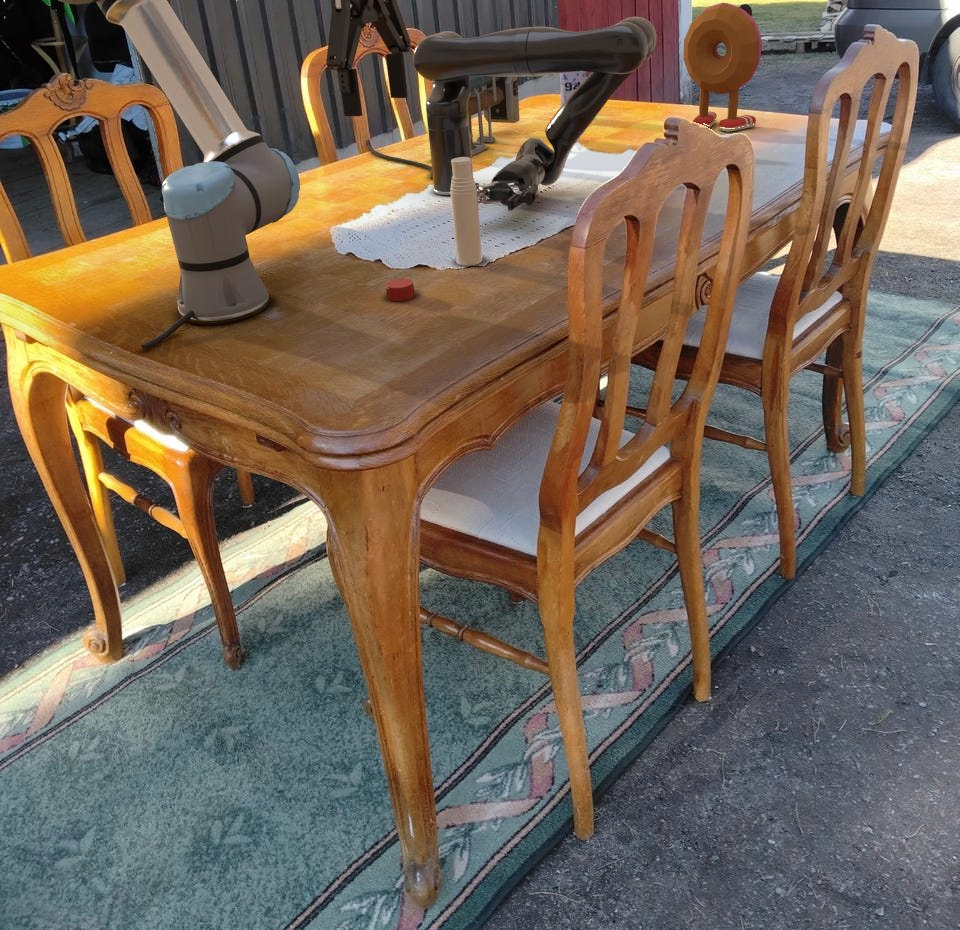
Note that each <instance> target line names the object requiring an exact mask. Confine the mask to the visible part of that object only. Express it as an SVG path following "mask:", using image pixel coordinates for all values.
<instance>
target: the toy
mask: <svg viewBox="0 0 960 930" xmlns="http://www.w3.org/2000/svg"><path fill="white" fill-rule="evenodd" d="M752 16H753V10H752V7H751V5H749V4H747V3H743V4H741V5H740V6H737V5H734V4H731V3H728V2H719V3H716V4H714V5H710V6H708V7H706V8H705V9H703V11H702V12H700V14H698V15H697V16H696V17H695V18H694V19H693V20H692V22H691V23H690V25H689V27H688V29H687V32H686V34H685V37H684V39H683V56H682V58H683V59H682V60H683V62H684V65H685V68H686V71H687V74H688V76H689V77H690V78H691V79H692V81H693V82H694V83H695V84H696V85H697V86H698V88H699V97H698V98H699V99H698V103H699V106H698V109H699V110H698V114H697V116H696V117H695V118H693V120H692V123H693V122H696V123H699V124H702V125H704V124H703V123H705V124H707V125H710V126H707V125H704V126H706V127H709V128H708V129H710V128H711V127H712V126H713V125H714V124H715V123H716V122H717V119H716V118H717V117H718V116H717V113H716V112H714V111H709V107H710V92H711V93H713V94H716V95H725V94H728V104H727V118H723V119H721V120H719V122H718V130H720V131H723V132H727V133H731V132H735V131H739V130H744V129H749V128H755V127H756V124H757V118H756V117H755V116H754V115H749V114H744V115H738V107H739V94H740V93H739V91H740V88H742V87H743V86H745V85H747V84H748V83H749V82H750V81H751V79H752V78H753V77H754V76H755V73H756V71H757V69H758V68H759V65H760V61H761V58H762V48H763V42H762V36H761V33H760V30H759V26H758V24H757V22H756V21H755V18H753V17H752ZM721 44H723V45H724V46H725V54H724V55H720V54H719V52H718V47H719V45H721ZM715 119H716V120H715ZM753 124H754V125H753ZM747 125H749V126H747ZM742 126H744V127H742ZM720 127H725V128H735V129H723V128H720ZM738 127H740V128H738ZM730 131H731V132H730Z"/></svg>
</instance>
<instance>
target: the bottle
mask: <svg viewBox="0 0 960 930" xmlns="http://www.w3.org/2000/svg"><path fill="white" fill-rule="evenodd" d="M451 164H452V171H453V176H452V180H451V188H450V189H451V191H450V194H451V195H450V202H451V204H450V205H451V215H452V216H451V217H452V225H453V226H452V227H453V237H454V249H455V257H456V258H455V260H456V264H457V265H459V266H465V267H466V266H467V267H469V266H475V265H478V264H481V263H482V262H483V251H482V239H481V225H480V211H479V204H478V199H479V198H478V196H477V188H476V185H475V183H476V181H475V178H474V173H473V174H472V170H471V158H469V157H458V158H454V159H452V160H451Z"/></svg>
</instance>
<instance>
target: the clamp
mask: <svg viewBox="0 0 960 930" xmlns="http://www.w3.org/2000/svg"><path fill="white" fill-rule="evenodd" d="M518 82H519V81H518V77H495V76H470V93H474V94H470V96H469V100H468V115H469V127H470V140H471V153H472V157H473V156H475V155H477V154H479V153H481V152H483V151H485V150H486V149H487V147H486V146H487V145H486V143H493V142H495V141H496V140H497V139H496V137H495V136H493V133H492V123H499V124H500V123H502V124H504V123H505V124H517V123H518V122H520V120H521V119H520V101H519V100H520V99H519V83H518ZM482 112H483V114H482ZM474 115H477V120H478V134H479V136H477V139H476V141H474V140H473V138H474V134H473V129H472V128H473V127H472V116H474ZM483 117H484V119H485V120H486V121H487V127H488V136H487V135H484V125H483V124H484V123H483Z"/></svg>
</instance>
